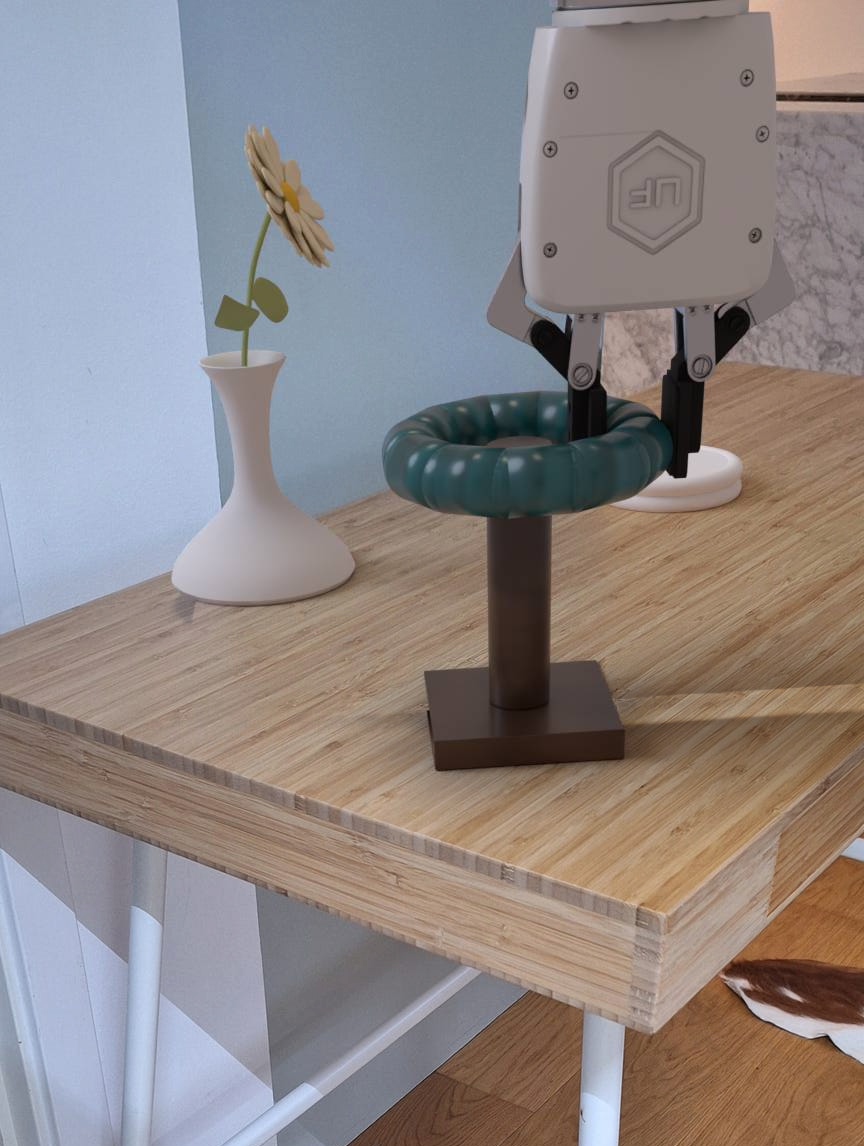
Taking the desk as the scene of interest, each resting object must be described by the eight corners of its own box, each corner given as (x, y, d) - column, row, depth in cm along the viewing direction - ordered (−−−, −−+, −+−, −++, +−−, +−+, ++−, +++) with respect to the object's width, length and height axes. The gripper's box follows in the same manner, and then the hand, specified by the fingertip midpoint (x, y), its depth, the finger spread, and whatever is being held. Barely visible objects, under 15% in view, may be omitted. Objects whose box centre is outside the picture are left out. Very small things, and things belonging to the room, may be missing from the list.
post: (595, 687, 77) (604, 414, 69) (623, 758, 70) (637, 462, 62) (424, 697, 77) (413, 427, 69) (435, 770, 70) (424, 476, 62)
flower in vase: (286, 640, 85) (239, 137, 71) (137, 613, 91) (65, 139, 76) (405, 574, 94) (385, 114, 80) (262, 552, 99) (219, 118, 85)
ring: (640, 438, 72) (642, 376, 70) (694, 513, 61) (698, 443, 60) (380, 458, 72) (376, 397, 70) (389, 536, 62) (385, 466, 60)
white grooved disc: (564, 519, 102) (565, 467, 100) (644, 485, 108) (647, 435, 106) (689, 542, 96) (693, 487, 94) (766, 505, 102) (771, 452, 100)
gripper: (443, -10, 53) (458, 510, 64) (896, -43, 53) (835, 483, 64) (431, -9, 59) (446, 465, 70) (837, -39, 59) (790, 441, 70)
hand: (632, 469), depth 67 cm, fingers closed on ring, 3 cm apart
